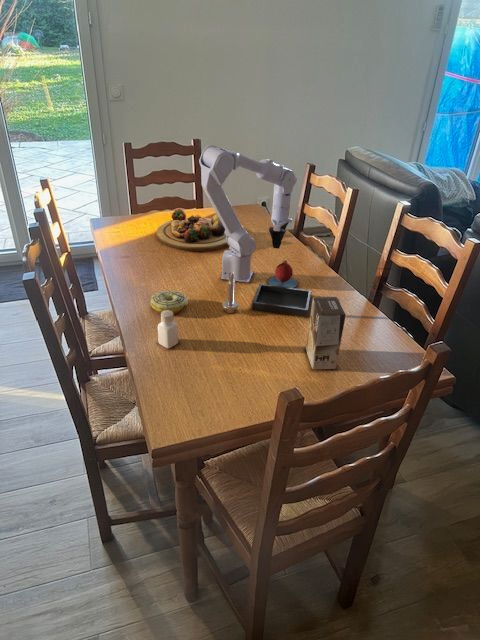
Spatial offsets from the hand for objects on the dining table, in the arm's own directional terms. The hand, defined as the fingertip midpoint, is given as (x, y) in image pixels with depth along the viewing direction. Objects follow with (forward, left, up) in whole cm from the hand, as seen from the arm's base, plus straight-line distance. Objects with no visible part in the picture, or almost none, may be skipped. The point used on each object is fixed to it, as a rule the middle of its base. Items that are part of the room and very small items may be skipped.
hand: (277, 243), depth 161 cm
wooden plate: (-35, +20, -10) cm, 41 cm away
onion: (+4, -11, -9) cm, 15 cm away
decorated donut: (-27, -36, -10) cm, 46 cm away
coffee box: (+19, -50, -10) cm, 54 cm away
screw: (-9, -33, -10) cm, 36 cm away
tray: (+6, -24, -9) cm, 26 cm away
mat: (+4, -11, -9) cm, 15 cm away
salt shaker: (-21, -54, -10) cm, 59 cm away
